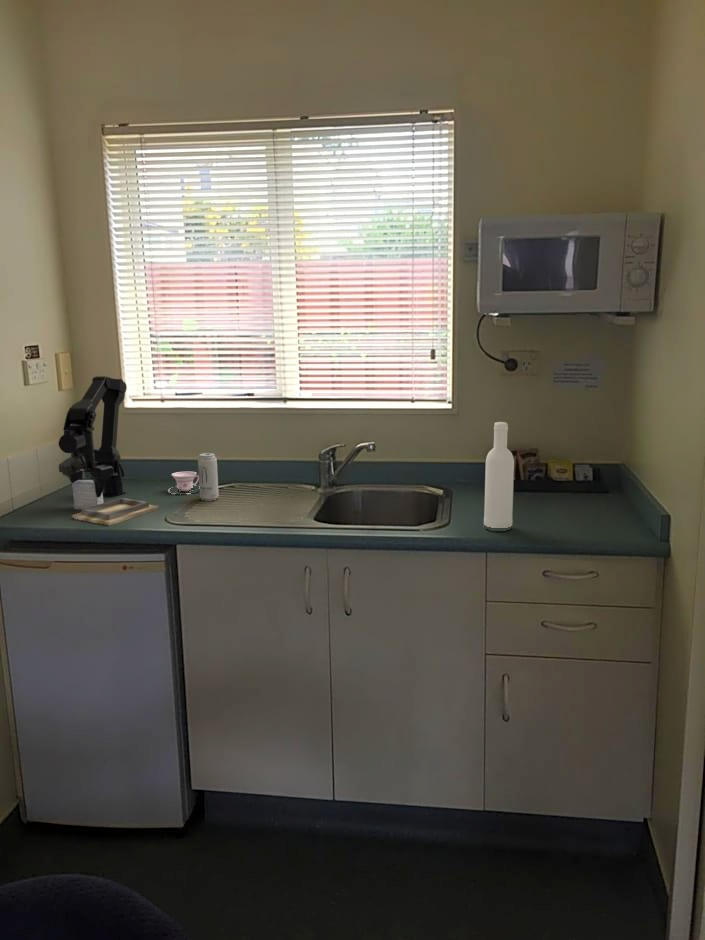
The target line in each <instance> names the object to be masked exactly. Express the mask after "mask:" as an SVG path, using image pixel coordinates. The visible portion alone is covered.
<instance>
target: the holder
mask: <svg viewBox="0 0 705 940" xmlns="http://www.w3.org/2000/svg"><path fill="white" fill-rule="evenodd" d="M158 510H160V507H159V505H154V504H150V502H148V501H143V500H136V499H132V498H125V497H119V498H116V499H113V500H108V501H106V502H104V503H102V504H99V505H95V506H92V507H89V508H85V509H80V512H78V513H75V514H72V515H71V519H72V518H74V519H73V520H77V519H78V521H82V520H83V521H84V522H88V523H93V524H98V523H99V525H103V524H104V526H113V525H116V524H120V523H122V522H125V521H127V520H130V519H134V518H136V517H140V516H143V515H145V514H148V513H149V514H150V513H151V512H154V511H158Z"/></svg>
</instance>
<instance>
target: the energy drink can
mask: <svg viewBox="0 0 705 940" xmlns="http://www.w3.org/2000/svg"><path fill="white" fill-rule="evenodd" d="M217 460H218V459H217V457H216V455H215V453H213V452H204V453H200V454H199V456H198V459H197V465H198V466H197V469H198V475H199V480H198V482H199V484H198V486H199V489H200V492H199V498H201V500H202V501H203V500H206V501H205V502H213V501H212V500H214V501H216V499H217V500H218V498H219V493H220V492H219V478H218V476H219V475H218V461H217Z"/></svg>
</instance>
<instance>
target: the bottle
mask: <svg viewBox="0 0 705 940" xmlns="http://www.w3.org/2000/svg"><path fill="white" fill-rule="evenodd" d="M508 425H509V424H508V423H507V422H505V421H497V422H496V421H495V422H494V425H493V447H492V449H491V450H489V451H488V453H487V454H486V455H487V456H486V458H485V473H484V474H485V477H484V514H483V515H484V516H483V526H484V525H485V526H487V527H491V528H508V527H511V526H512V527H513V511H514V510H513V509H514V508H513V506H514V505H513V504H514V474H515V472H514V471H515V458H514V456H513V453H512V451H510V450H509V449H508V431H509V426H508Z"/></svg>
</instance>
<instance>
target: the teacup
mask: <svg viewBox="0 0 705 940" xmlns="http://www.w3.org/2000/svg"><path fill="white" fill-rule="evenodd" d="M171 476H172V477H173V478H174V480H175V482H176V487H177V488H178V489H179V492H181V491H189V490H190V491H192V490H191V488H193V485H194V486H197V483H198V482H199V474H197V472H196V471H187V470H185V471H177V472H173V473H171ZM195 478H197V479H196V481H195V483H194V480H195ZM171 488H172V487H171ZM171 488H167V489H168V490H167V493H168V494H170V493H171V492H170V489H171ZM190 491H189V492H190ZM175 494H176V493H171V494H170V495H175ZM186 494H187V495H192V494H191V493H186ZM180 496H181V494H180Z"/></svg>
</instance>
